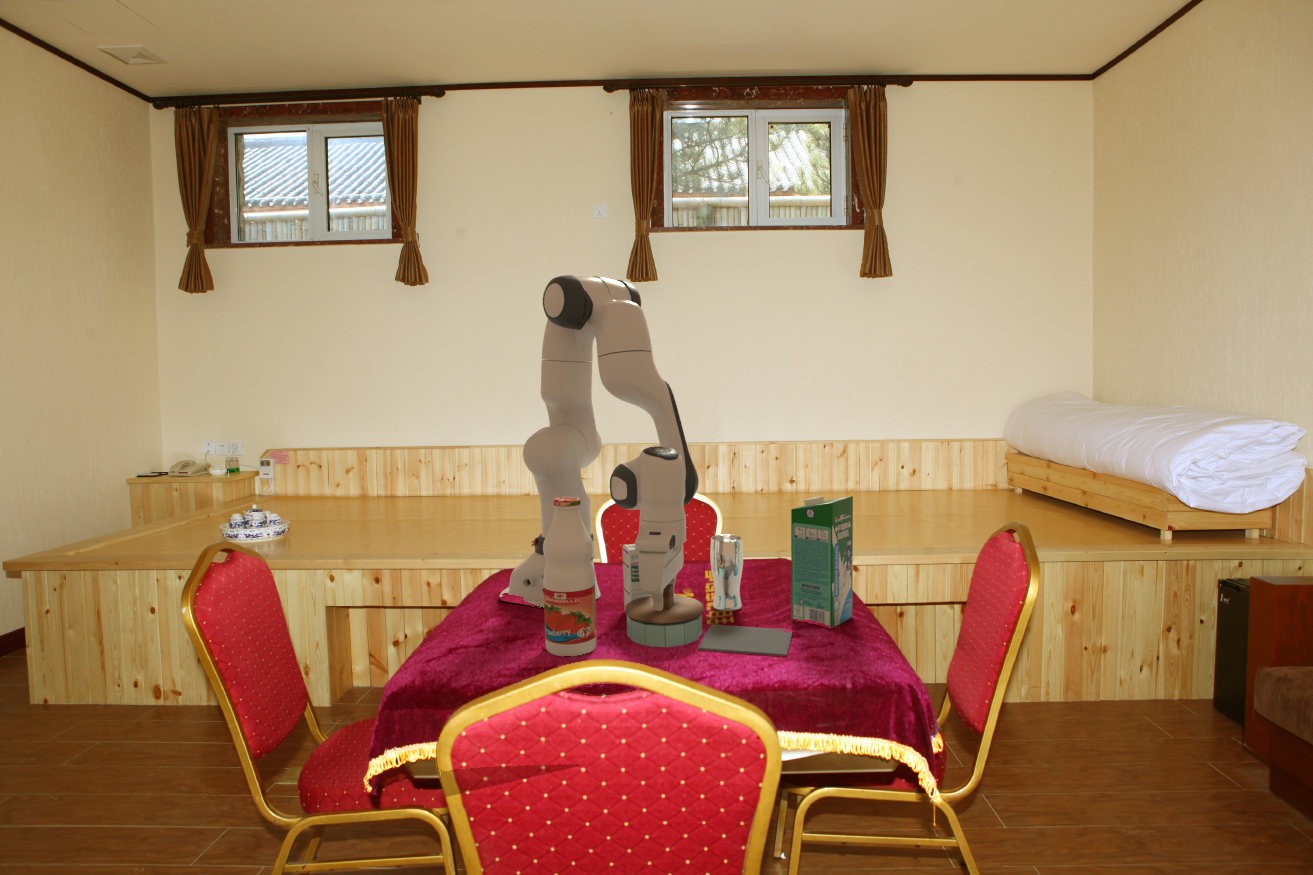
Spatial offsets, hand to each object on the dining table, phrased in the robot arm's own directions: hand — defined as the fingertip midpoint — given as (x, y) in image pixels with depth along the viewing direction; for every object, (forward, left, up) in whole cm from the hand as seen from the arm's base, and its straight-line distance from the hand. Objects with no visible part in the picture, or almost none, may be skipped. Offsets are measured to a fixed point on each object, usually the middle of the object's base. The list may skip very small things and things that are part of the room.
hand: (664, 603), depth 152 cm
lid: (0, 0, -1) cm, 1 cm away
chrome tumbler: (+9, +19, -6) cm, 22 cm away
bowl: (0, 0, -6) cm, 6 cm away
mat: (+16, -1, -6) cm, 17 cm away
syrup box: (-8, +11, -6) cm, 15 cm away
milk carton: (+29, +15, -6) cm, 33 cm away
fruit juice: (-15, -11, -6) cm, 20 cm away
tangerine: (0, 0, -3) cm, 3 cm away
